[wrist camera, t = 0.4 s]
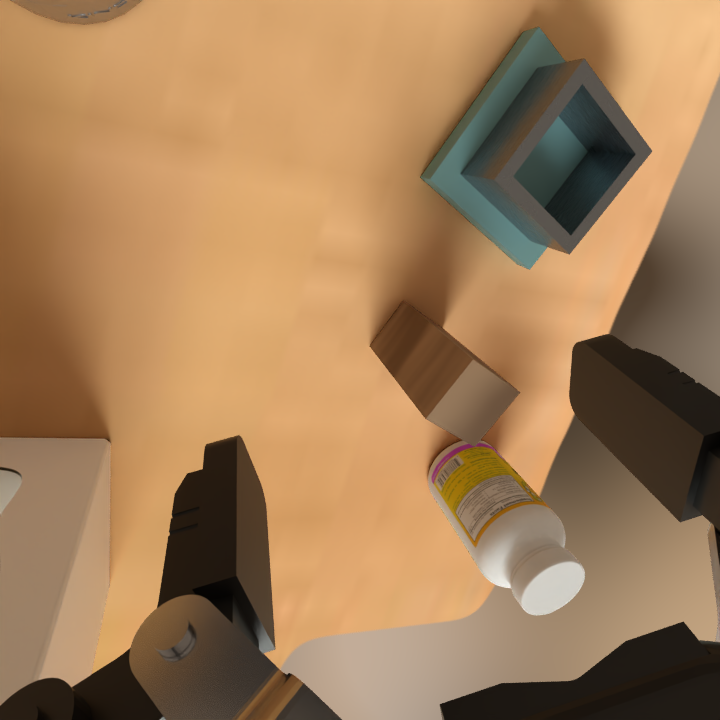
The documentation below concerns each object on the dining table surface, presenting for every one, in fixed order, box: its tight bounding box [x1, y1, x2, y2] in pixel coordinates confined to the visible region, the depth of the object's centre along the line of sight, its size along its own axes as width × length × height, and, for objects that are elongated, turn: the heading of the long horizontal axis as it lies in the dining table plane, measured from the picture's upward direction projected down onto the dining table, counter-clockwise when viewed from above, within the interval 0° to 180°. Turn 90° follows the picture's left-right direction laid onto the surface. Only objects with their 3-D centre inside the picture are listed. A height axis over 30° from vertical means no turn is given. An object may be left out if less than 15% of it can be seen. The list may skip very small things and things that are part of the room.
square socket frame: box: [461, 59, 652, 254], centre depth 29 cm, size 7×7×4 cm
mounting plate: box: [421, 27, 588, 270], centre depth 31 cm, size 10×10×2 cm
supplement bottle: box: [428, 440, 585, 615], centre depth 36 cm, size 7×7×13 cm
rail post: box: [370, 301, 520, 447], centre depth 31 cm, size 4×4×10 cm
